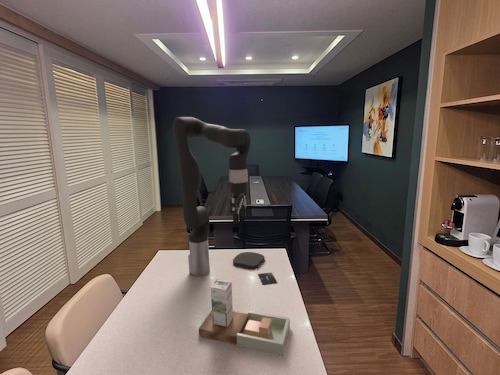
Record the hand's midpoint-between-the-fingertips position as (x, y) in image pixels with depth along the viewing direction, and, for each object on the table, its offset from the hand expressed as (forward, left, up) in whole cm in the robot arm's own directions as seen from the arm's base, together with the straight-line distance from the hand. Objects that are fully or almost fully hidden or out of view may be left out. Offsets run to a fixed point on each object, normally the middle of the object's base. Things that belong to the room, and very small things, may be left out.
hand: (239, 219), depth 115 cm
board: (+2, -23, -33) cm, 40 cm away
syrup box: (+1, -23, -30) cm, 38 cm away
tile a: (+13, -23, -32) cm, 42 cm away
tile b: (+15, -23, -30) cm, 41 cm away
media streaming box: (-6, +29, -34) cm, 45 cm away
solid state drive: (+8, +15, -34) cm, 38 cm away
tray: (+16, -23, -33) cm, 43 cm away
